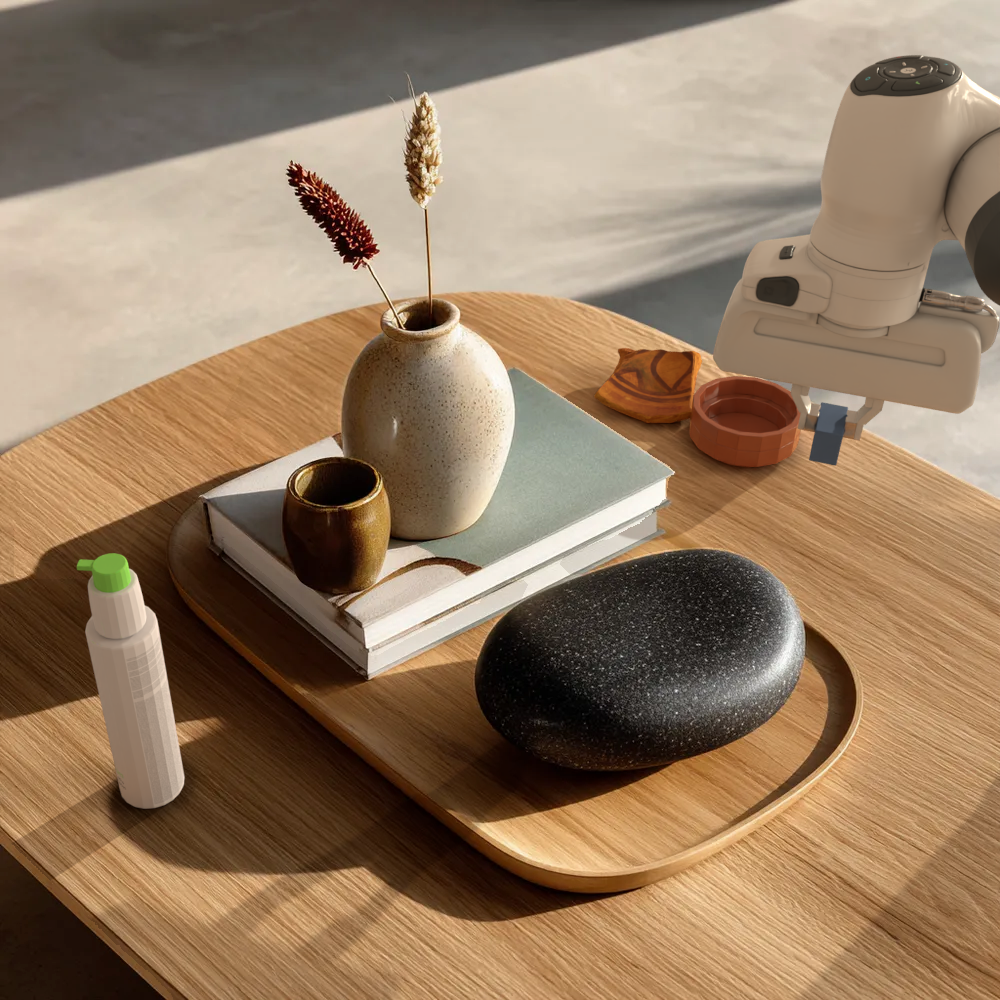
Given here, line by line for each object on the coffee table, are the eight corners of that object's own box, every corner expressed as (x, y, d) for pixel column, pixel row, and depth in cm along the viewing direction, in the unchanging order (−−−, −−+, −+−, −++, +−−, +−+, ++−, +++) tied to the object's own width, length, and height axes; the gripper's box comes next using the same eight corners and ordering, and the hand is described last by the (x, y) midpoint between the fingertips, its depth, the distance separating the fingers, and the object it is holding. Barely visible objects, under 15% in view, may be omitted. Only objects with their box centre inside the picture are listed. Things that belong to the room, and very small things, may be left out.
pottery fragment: (703, 348, 135) (699, 385, 126) (699, 390, 137) (695, 429, 128) (604, 339, 136) (593, 375, 127) (601, 381, 138) (591, 419, 129)
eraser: (814, 431, 111) (821, 401, 109) (841, 436, 111) (848, 406, 109) (808, 460, 108) (815, 430, 106) (836, 466, 107) (843, 435, 106)
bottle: (144, 752, 94) (100, 533, 82) (197, 772, 93) (160, 552, 81) (107, 797, 91) (56, 575, 79) (161, 817, 90) (118, 595, 78)
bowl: (739, 399, 133) (744, 365, 131) (818, 446, 127) (825, 411, 124) (666, 434, 128) (670, 399, 125) (745, 484, 122) (751, 449, 119)
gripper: (1006, 283, 100) (961, 434, 109) (735, 239, 104) (712, 388, 113) (1006, 322, 95) (959, 478, 104) (722, 275, 100) (699, 428, 108)
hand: (828, 431), depth 108 cm, fingers closed on eraser, 2 cm apart
